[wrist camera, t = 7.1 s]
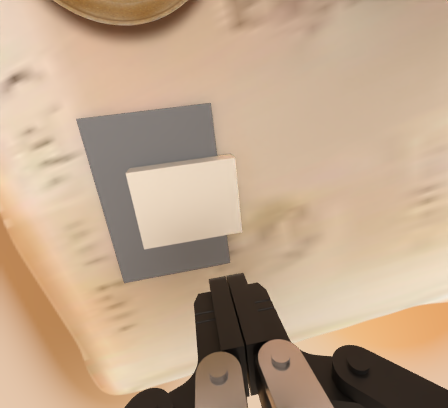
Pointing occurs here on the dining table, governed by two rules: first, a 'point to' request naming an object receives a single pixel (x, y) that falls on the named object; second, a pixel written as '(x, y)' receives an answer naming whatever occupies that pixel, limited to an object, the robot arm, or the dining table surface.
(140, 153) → the mat
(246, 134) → the dining table surface
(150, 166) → the tile
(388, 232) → the dining table surface
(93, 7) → the plant saucer
